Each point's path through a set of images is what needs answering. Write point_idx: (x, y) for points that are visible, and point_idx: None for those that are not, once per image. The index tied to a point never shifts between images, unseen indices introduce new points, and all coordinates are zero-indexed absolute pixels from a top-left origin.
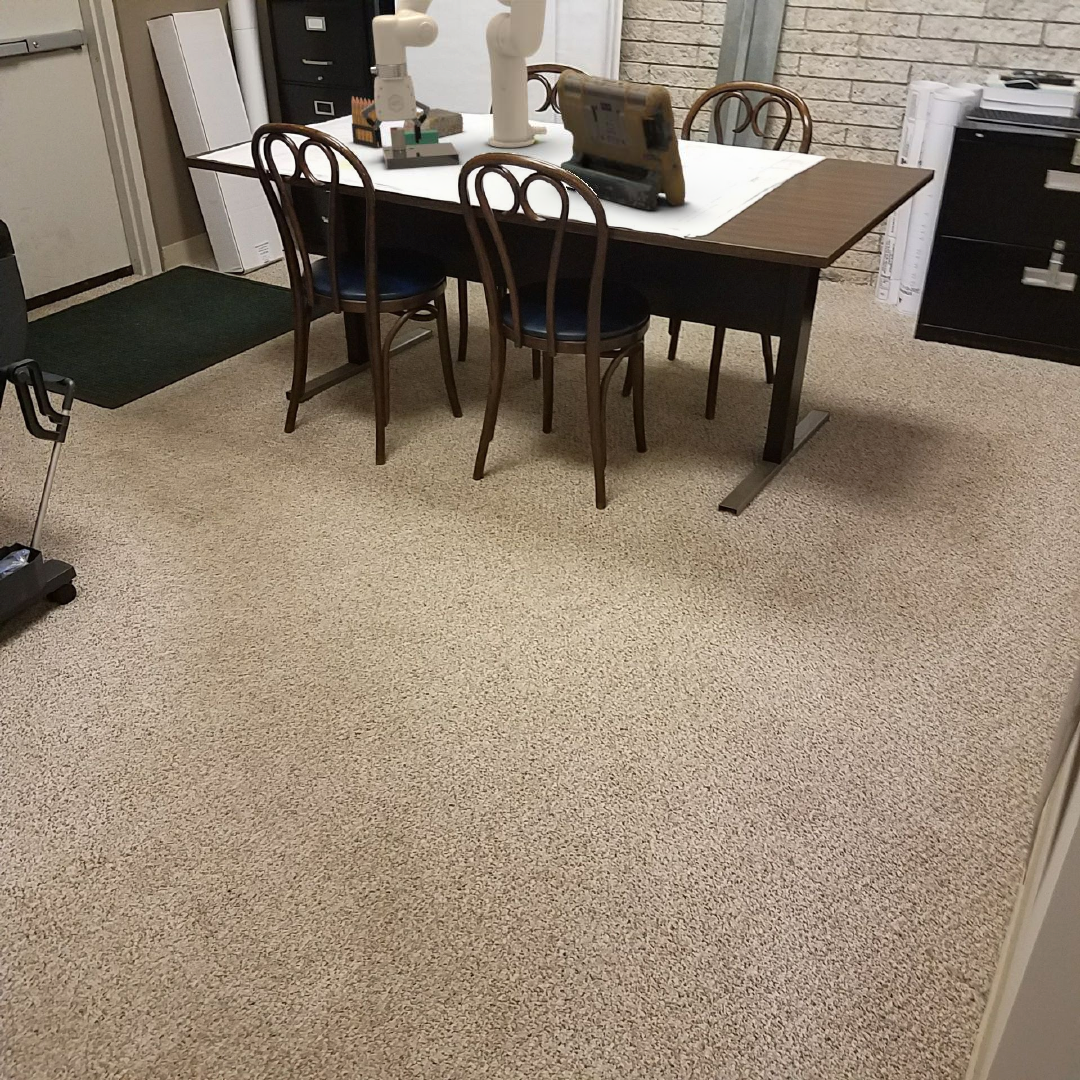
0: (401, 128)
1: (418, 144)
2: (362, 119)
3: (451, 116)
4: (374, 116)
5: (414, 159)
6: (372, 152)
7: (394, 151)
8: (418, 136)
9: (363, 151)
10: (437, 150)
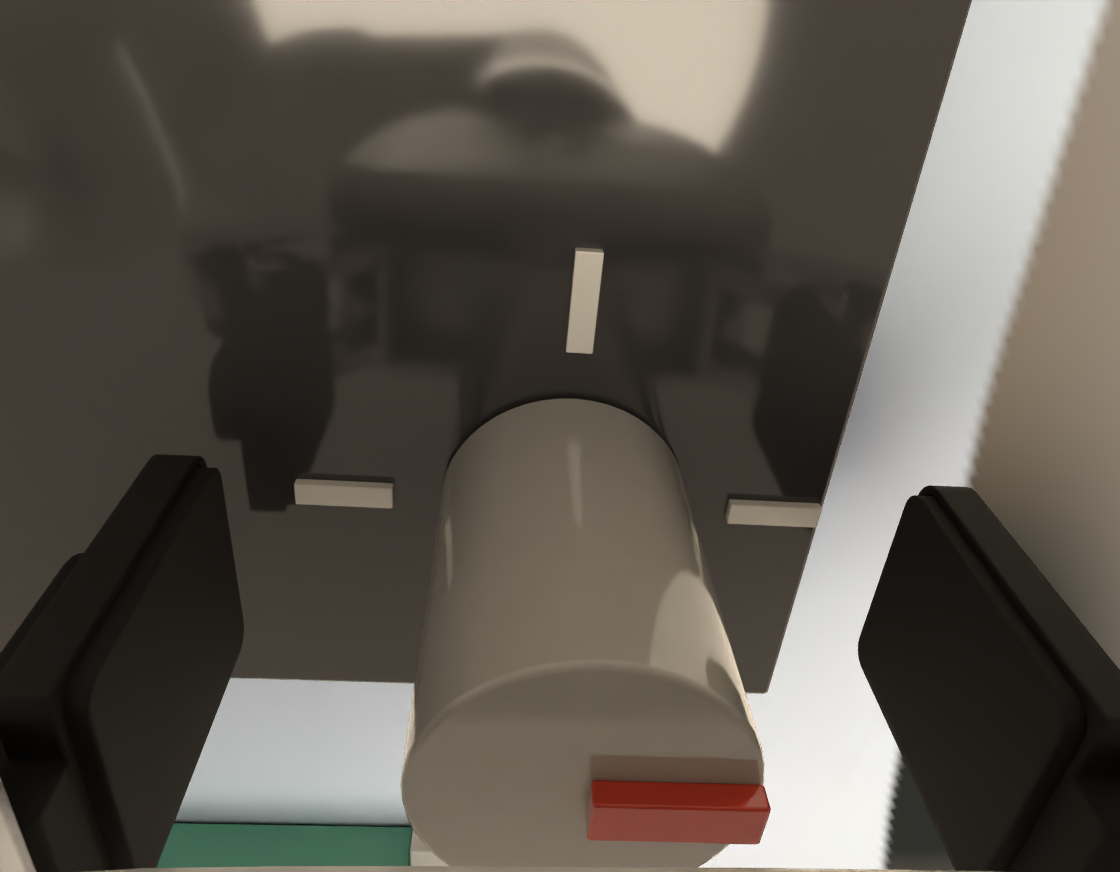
0: (480, 774)
1: (253, 861)
2: None
3: None
4: None
5: None
6: (782, 802)
7: (677, 370)
8: (105, 532)
9: (851, 852)
10: None
